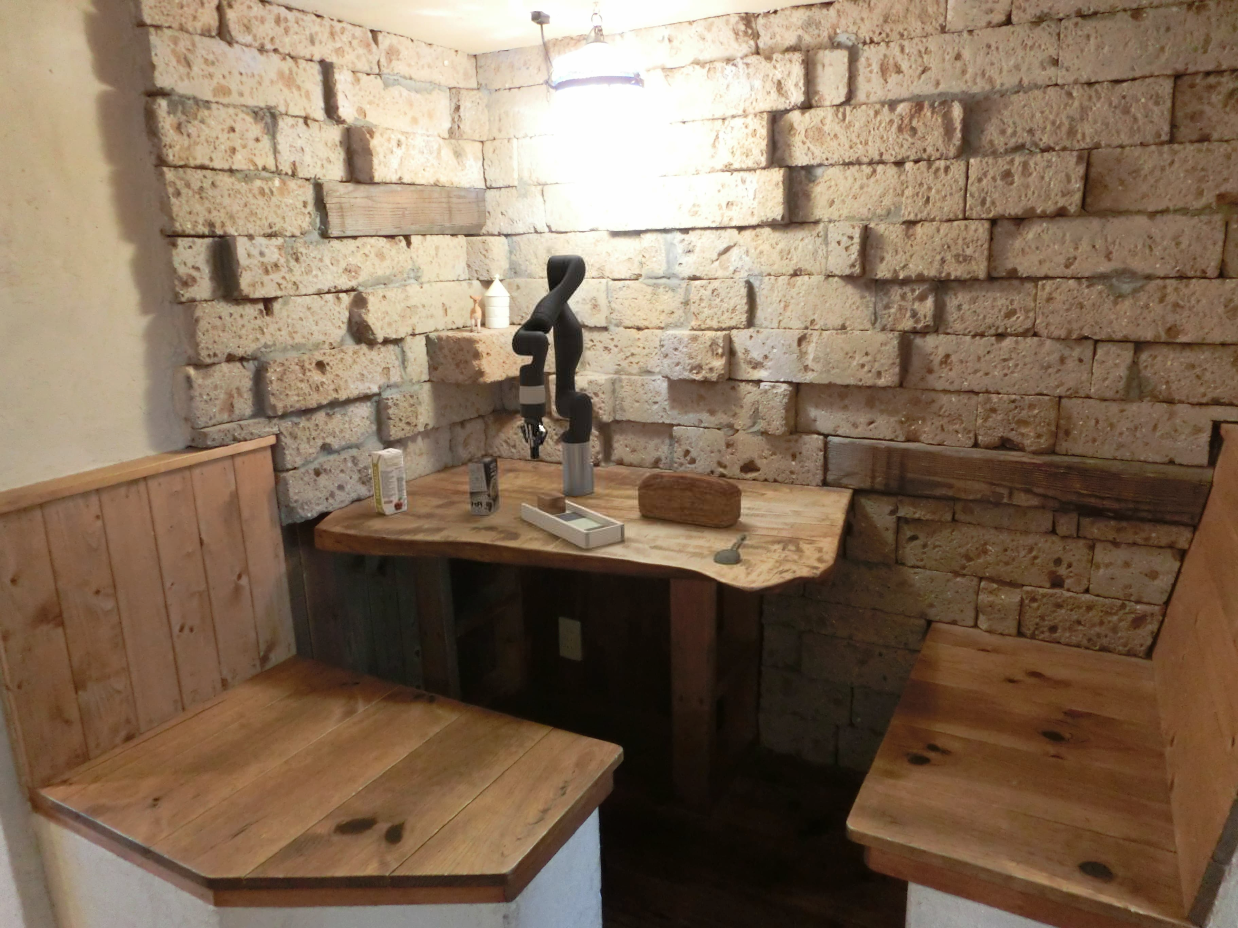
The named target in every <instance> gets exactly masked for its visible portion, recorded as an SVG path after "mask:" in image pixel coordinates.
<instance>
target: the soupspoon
mask: <svg viewBox="0 0 1238 928" xmlns="http://www.w3.org/2000/svg"><path fill="white" fill-rule="evenodd" d="M745 539H747V535H746V534H745V533H741V534H740V536H739V537H738V538H737V539H736V540H735V541H734V543H733V544H732V545H731V547H730V548H726V549H722V550H719V551H716V553H714V557H713V561H714V562H715V563H716V564H719V565H724V566H734V565H737V564H738V563H739V562H740V560H741V558H742V557H741V553H740V552H739V551H737V550H735V548H736V546H737V544H738V543H739V542H740V541H742V540H745Z"/></svg>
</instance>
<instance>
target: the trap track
mask: <svg viewBox="0 0 1238 928" xmlns="http://www.w3.org/2000/svg"><path fill="white" fill-rule="evenodd" d="M565 502H566V512H565V513H561V514H556V515H550V514H548V513H546V512H543V511H541V510H539V509H537V507H534V506H531V505H530V504H528V503H520V510H521V519H522V520H523V521H526V522H528V523H530V524H532V525H535V526H536V527H538V528H540V529H543V530H545V531H546V532H549V533H551V534H553V535H555V536H558V537H559V538H561V537H562V538H561V539H563V538H564V540H565V539H566V540H565V541H567V540H568V541H567V542H570V543H572V544H574V545H577V546H578V547H580V548H582V549H584V550H590V549H594V548H598V547H601V546H606V545H610V544H614V543H618V542H621V541H622V540H623V541H625V540H626V538H625V537H626V536H625V523H623V522H621V521H619V520H615V519H613V518H612V517H608V516H606V515H603V514H602V513H598V512H596V511H594V510H592V509H589V508H587V507H584V506H581V505H579V504H577V503H574V502H572V501H569V500H567V499H565ZM623 541H622V542H623ZM613 542H614V543H613ZM609 543H610V544H609ZM597 546H598V547H597ZM593 547H594V548H593Z"/></svg>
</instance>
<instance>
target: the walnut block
mask: <svg viewBox="0 0 1238 928" xmlns="http://www.w3.org/2000/svg"><path fill="white" fill-rule="evenodd" d="M565 500H566V494H562V493H559V492H557V491H550V492H546V493H541V494H537V495H536V504H537V509H539V510H541V511H543V512H546V513H548V514H550V515H556V514H561V513H565V512H566V502H565Z"/></svg>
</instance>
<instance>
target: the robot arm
mask: <svg viewBox="0 0 1238 928" xmlns="http://www.w3.org/2000/svg"><path fill="white" fill-rule="evenodd" d="M586 271H587V267H586V262H585V260H584V258H583V257H582V256H581V255H579V254H559V255H558V254H556V255H551V256H550V257H549V258H548V260H547V263H546V277H547V278H546V279H547V286H548V293H547V294H546V295H544V296H543V297H541V299H540V300H539V301H538V303H537V304H536V305H535V308H534V309H533V311H532V313H531V315H530V317H529V318H528V319H527V320H526V321H525V322H524V323H522V325H520V327H519V328H518V329H517V330H516V332H515V333H514V334H513V337H512V339H511V347H512V348H511V349H512V351H513V352H514V354H516V355H517V356H522V357H532V360H531V362H530V363H526V364H523V365H520V367H519V371H518V372H519V374H518V375H519V394H518V396H519V397H518V398H519V413H520V414H519V415H520V417H521V418H523V423H524V424H520V426H519V428H520V430H521V433H522V437H523V438H524V442H525V443H526V444H528V447H529V453H530V459H531V460H538V459H540V447H541V446H543V445H544V443H545V441H546V439H547V436H548V434H549V431H548V429H545V428H544V422H543V418H545V417H546V415H547V405H546V389H545V374H544V372H545V365H546V362H547V361H546V360H547V357H548V353H549V349H550V342H549V341H550V340H549V338H548V336H547V334H549V333H550V332H551V331H552V338H553V340H552V341H553V350H554V368H555V388H554V390H555V391H554V397H555V398H554V407H555V410H556V413H557V415H558V416H559V417H561V418H562V419H565V420H569V423H568V429H566V430H563V431H562V432H561V435H560V437H561V438H560V439H561V464H562V465H561V466H562V467H561V469H562V486H563V487H562V490H563V491H562V493H563V495H565V496H566V495H567V496H572V497H573V496H574V497H580V496H586V495H589V494H592V493H594V492H595V481H594V480H595V473H594V472H595V470H594V463H593V462H591V461H592V460H591V434H592V432H593V415H594V414H593V401H592V399H591V396H590V395H589V394H588V393H586V392H582V391H577V390H576V370H577V368H578V364H579V363H580V360H581V358H582V354H583V352H584V335H583V328H582V325H581V323H580V321H579V319H578V317H577V316H576V314H575V312H574V311H573V310H572V308H571V307H570V304H569V302H568V301H569V300H570V299H571V298H572V296H573V295H574V293H576V291H577V290H578V288H580V286H581V285H582V283H583V281H584V280H585V278H586Z"/></svg>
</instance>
